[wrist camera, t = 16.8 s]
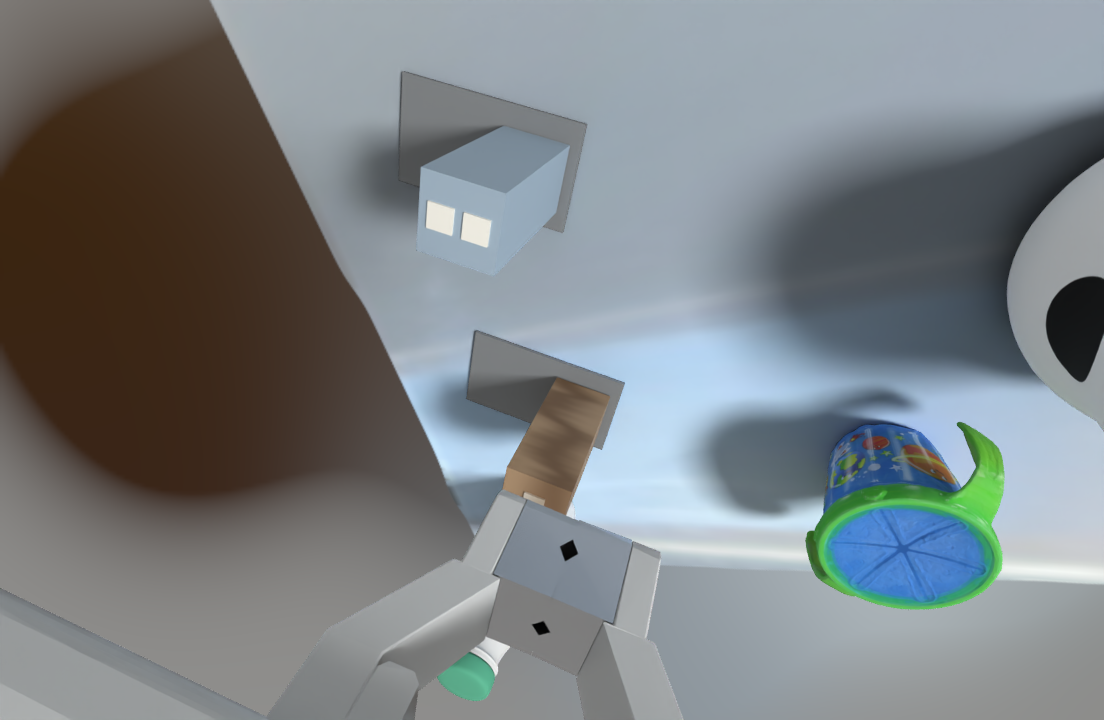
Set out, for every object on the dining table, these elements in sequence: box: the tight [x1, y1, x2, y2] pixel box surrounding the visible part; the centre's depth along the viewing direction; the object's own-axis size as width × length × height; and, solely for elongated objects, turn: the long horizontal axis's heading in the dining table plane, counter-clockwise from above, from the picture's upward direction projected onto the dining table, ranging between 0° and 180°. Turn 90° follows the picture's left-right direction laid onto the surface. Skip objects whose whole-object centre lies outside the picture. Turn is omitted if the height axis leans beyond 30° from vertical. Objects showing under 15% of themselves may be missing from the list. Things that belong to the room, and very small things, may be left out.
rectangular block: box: [416, 126, 570, 277], centre depth 37 cm, size 5×5×12 cm
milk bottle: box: [437, 502, 575, 701], centre depth 53 cm, size 8×8×20 cm
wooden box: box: [503, 377, 610, 515], centre depth 47 cm, size 5×5×12 cm
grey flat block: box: [399, 71, 587, 233], centre depth 42 cm, size 14×8×1 cm, turn 78°
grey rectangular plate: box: [467, 331, 625, 450], centre depth 52 cm, size 14×8×1 cm, turn 79°
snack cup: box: [805, 422, 1004, 609], centre depth 41 cm, size 16×10×10 cm
